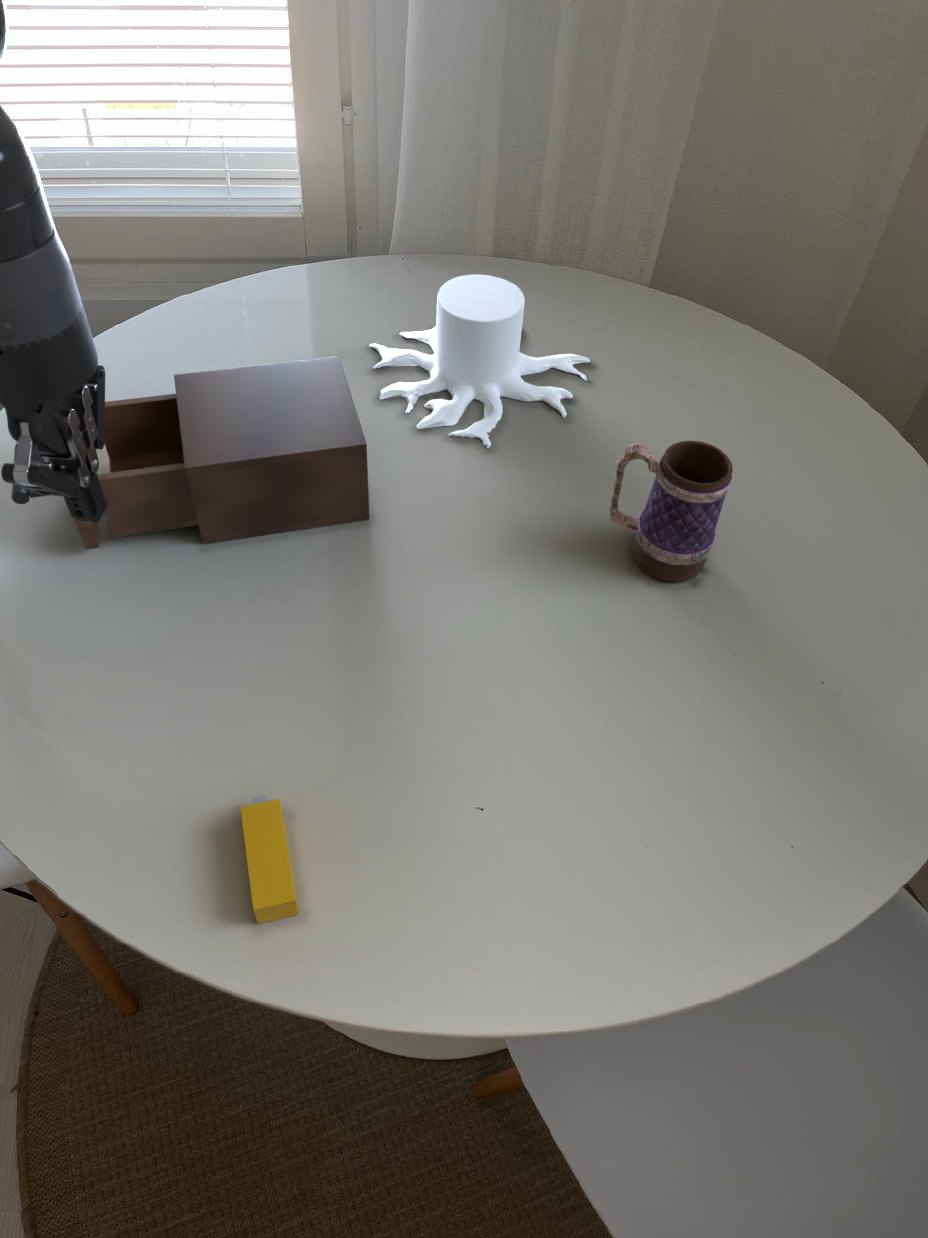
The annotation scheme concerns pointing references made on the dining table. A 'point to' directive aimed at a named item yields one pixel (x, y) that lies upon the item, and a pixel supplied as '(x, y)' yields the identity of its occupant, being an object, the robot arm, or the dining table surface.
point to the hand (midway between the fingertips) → (90, 514)
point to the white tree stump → (475, 356)
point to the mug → (675, 507)
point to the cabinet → (272, 448)
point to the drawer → (139, 471)
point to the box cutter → (268, 860)
